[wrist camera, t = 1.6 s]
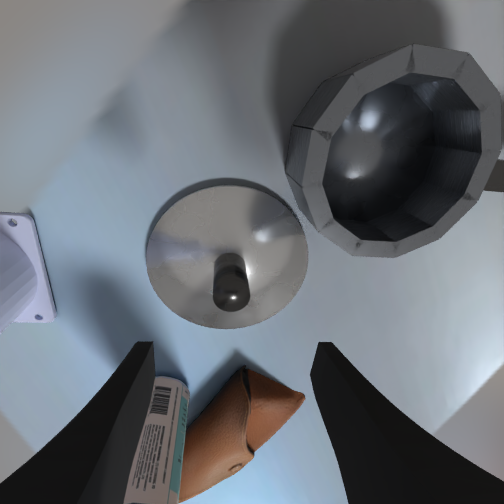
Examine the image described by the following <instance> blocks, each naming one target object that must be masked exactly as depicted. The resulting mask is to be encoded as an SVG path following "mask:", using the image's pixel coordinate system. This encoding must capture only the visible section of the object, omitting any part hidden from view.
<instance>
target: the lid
mask: <svg viewBox="0 0 504 504" xmlns="http://www.w3.org/2000/svg"><path fill="white" fill-rule="evenodd" d="M146 265H147V273H148V276H149V279H150V282H151V284H152V286H153V289H154V291H155V292H156V294H157V295H158V297H159V298H160V299H161V300H162V302H163V303H164V304H165V305H166V306H167V307H168V308H169V309H170V310H172V311H173V312H174V313H176V314H177V315H179V316H180V317H182V318H184V319H186V320H187V321H190V322H192V323H195V324H197V325H201V326H205V327H210V328H216V329H235V328H242V327H247V326H251V325H254V324H257V323H260V322H262V321H264V320H266V319H268V318H270V317H272V316H273V315H275V314H277V313H278V312H279V311H281V310H282V309H283V308H284V307H285V306H286V305H287V304H288V303H289V302H290V301H291V300H292V299H293V298H294V296H295V295H296V294H297V292H298V290H299V289H300V287H301V285H302V283H303V281H304V278H305V275H306V272H307V266H308V247H307V241H306V238H305V235H304V232H303V230H302V228H301V226H300V224H299V223H298V221H297V220H296V218H295V217H294V215H293V214H292V213H291V212H290V211H289V210H288V208H287V207H286V206H284V205H283V204H282V203H281V202H280V201H278V200H277V199H275V198H274V197H272V196H270V195H269V194H267V193H264V192H262V191H260V190H257V189H254V188H250V187H246V186H239V185H218V186H211V187H207V188H203V189H200V190H197V191H195V192H192V193H190V194H188V195H186V196H185V197H183V198H181V199H180V200H178V201H177V202H176V203H174V204H173V205H172V206H171V207H170V208H169V209H168V210H167V211H166V212H165V213H164V214H163V215H162V217H161V218H160V219H159V221H158V222H157V224H156V226H155V228H154V230H153V232H152V233H151V236H150V239H149V242H148V246H147V252H146Z"/></svg>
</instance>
